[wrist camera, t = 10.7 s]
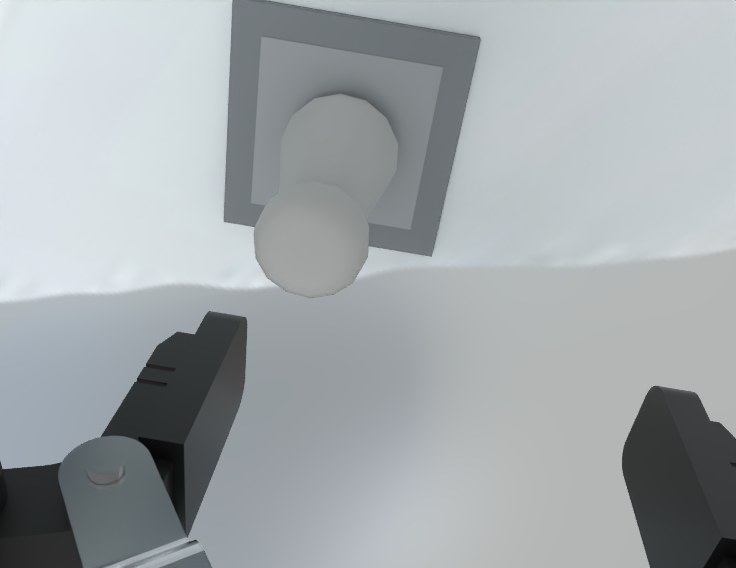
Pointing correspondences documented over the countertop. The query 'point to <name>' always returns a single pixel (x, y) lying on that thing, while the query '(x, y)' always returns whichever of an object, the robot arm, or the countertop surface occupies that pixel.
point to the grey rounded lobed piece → (325, 195)
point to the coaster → (353, 78)
